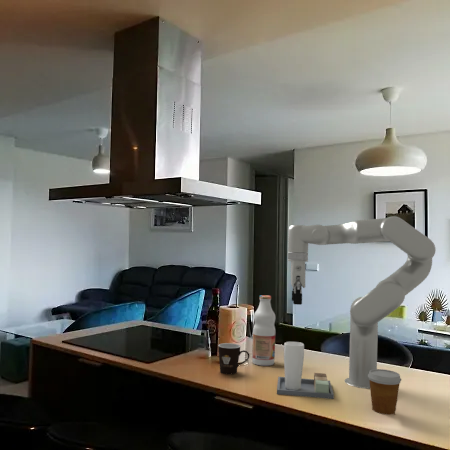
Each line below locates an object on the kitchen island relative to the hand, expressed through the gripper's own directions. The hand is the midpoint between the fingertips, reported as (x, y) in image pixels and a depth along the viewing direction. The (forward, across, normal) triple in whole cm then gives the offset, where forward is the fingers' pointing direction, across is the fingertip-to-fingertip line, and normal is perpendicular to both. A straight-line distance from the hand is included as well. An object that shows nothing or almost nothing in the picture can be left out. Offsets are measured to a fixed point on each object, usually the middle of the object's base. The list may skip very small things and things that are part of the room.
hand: (296, 302), depth 169 cm
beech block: (+27, -17, -8) cm, 33 cm away
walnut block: (+27, -13, -8) cm, 31 cm away
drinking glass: (+27, -17, +2) cm, 32 cm away
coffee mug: (+28, +1, +24) cm, 37 cm away
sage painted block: (+27, -21, -8) cm, 35 cm away
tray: (+28, -17, -2) cm, 33 cm away
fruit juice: (+28, +18, +12) cm, 35 cm away
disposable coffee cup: (+28, -32, -24) cm, 49 cm away
